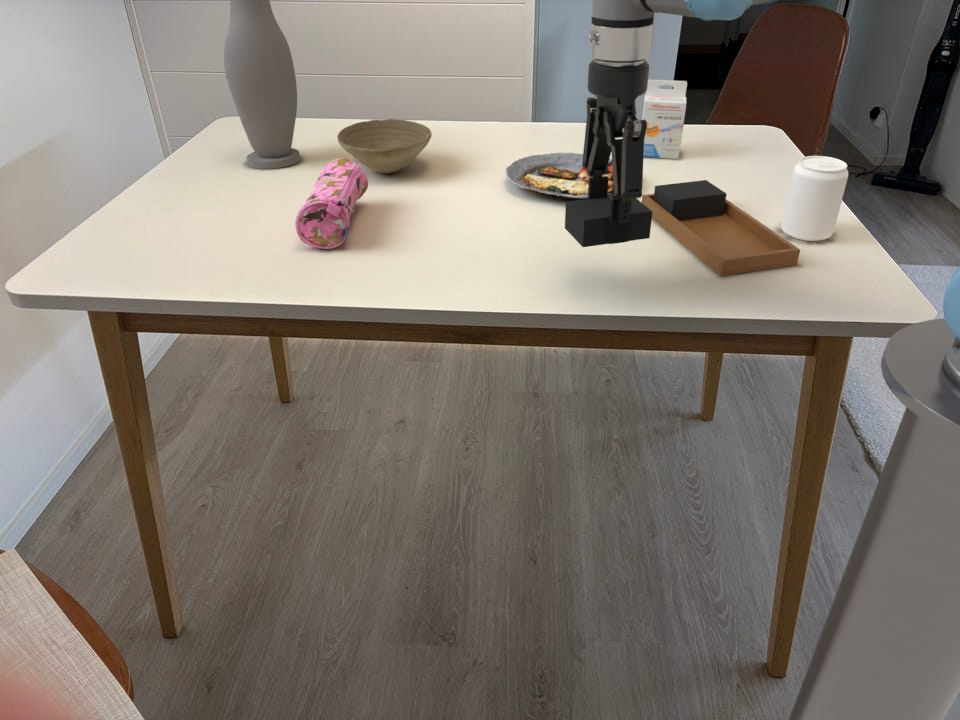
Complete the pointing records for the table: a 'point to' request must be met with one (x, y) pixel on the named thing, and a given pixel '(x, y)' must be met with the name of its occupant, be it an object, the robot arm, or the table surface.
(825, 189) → the beverage can
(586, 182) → the food plate
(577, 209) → the black pad
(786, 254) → the tray
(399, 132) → the bowl
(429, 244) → the table surface
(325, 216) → the pencil case
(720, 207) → the pad
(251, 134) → the vase
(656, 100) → the ink box
